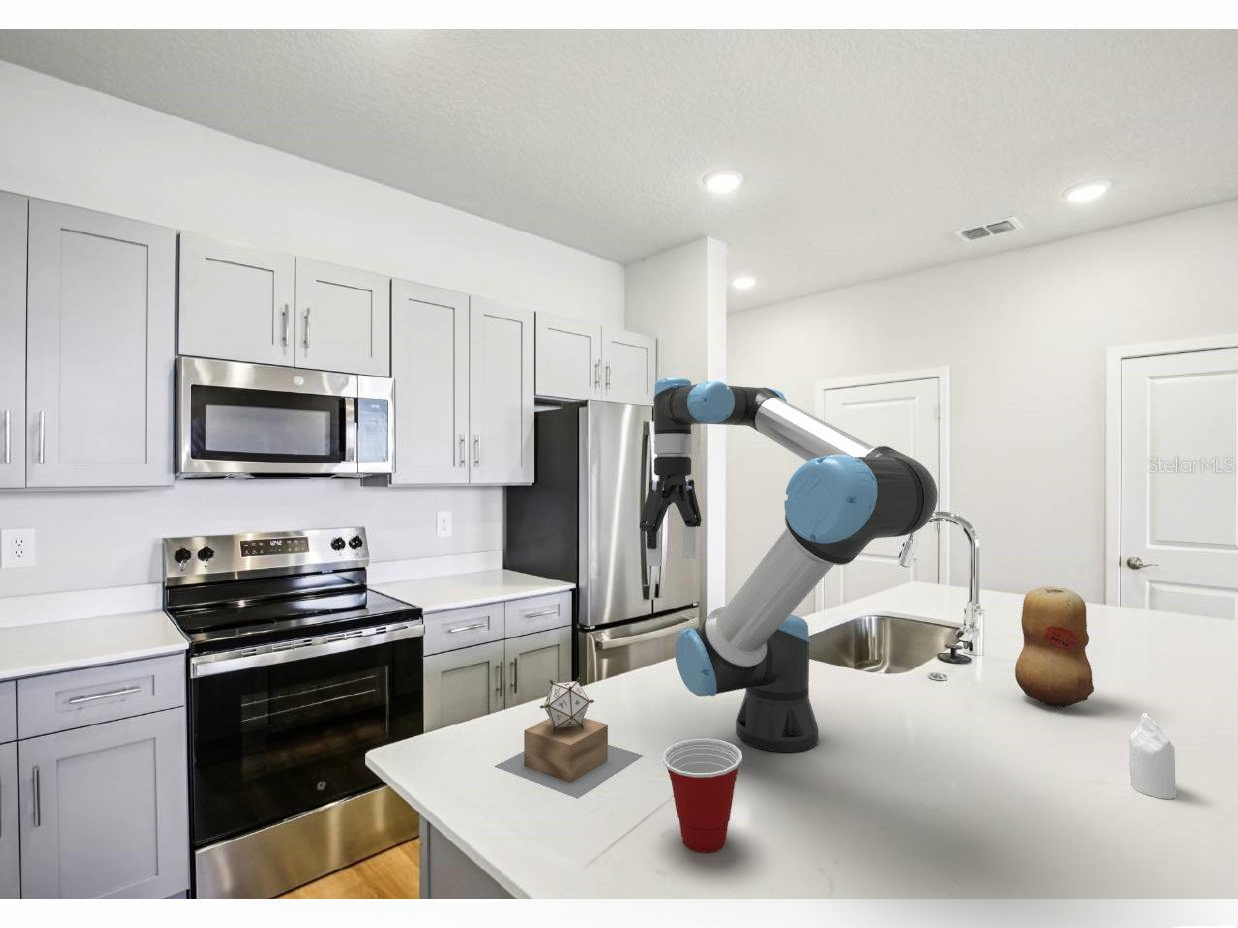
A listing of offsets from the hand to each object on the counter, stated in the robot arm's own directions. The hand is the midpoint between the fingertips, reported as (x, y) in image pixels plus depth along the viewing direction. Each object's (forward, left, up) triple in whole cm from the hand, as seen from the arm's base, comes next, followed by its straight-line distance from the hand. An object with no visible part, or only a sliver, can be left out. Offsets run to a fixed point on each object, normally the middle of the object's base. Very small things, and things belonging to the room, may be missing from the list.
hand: (672, 561), depth 131 cm
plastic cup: (-25, +34, -32) cm, 53 cm away
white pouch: (-76, -20, -32) cm, 85 cm away
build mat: (+4, +27, -32) cm, 42 cm away
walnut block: (+4, +28, -31) cm, 42 cm away
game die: (+4, +28, -25) cm, 38 cm away
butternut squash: (-62, -55, -32) cm, 89 cm away
